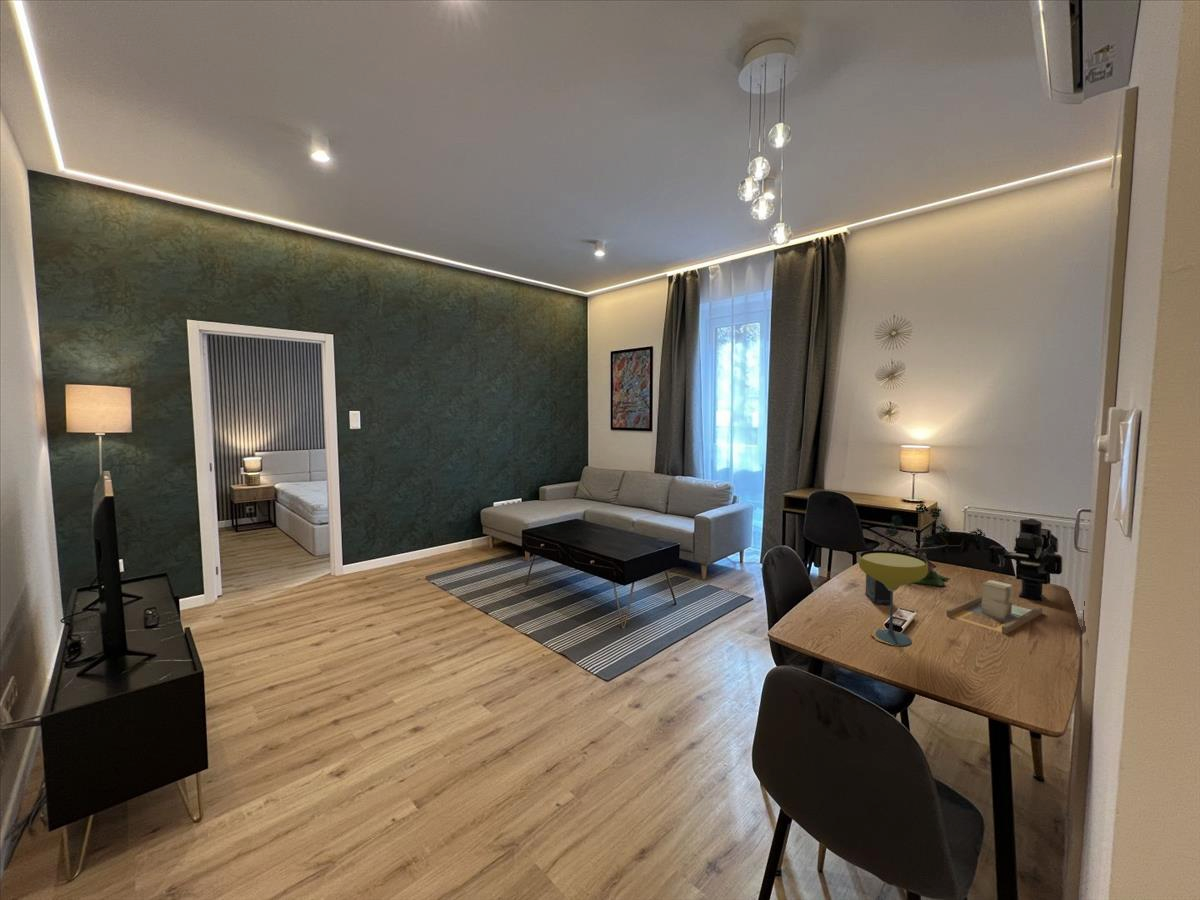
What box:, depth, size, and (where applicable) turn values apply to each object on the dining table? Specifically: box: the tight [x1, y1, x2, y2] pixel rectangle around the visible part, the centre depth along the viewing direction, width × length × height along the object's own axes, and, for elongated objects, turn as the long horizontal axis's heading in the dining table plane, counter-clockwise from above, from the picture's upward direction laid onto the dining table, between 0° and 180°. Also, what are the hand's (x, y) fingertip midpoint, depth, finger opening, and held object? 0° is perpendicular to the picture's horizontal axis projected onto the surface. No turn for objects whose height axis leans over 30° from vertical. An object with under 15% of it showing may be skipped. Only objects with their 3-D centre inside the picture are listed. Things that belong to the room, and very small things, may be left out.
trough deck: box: [946, 593, 1043, 635], centre depth 161 cm, size 27×16×4 cm, turn 121°
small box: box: [864, 573, 891, 606], centre depth 180 cm, size 11×6×10 cm, turn 168°
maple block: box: [981, 579, 1014, 619], centre depth 162 cm, size 6×6×10 cm
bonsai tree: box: [881, 503, 987, 588], centre depth 194 cm, size 35×24×32 cm
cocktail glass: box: [858, 549, 928, 647], centre depth 149 cm, size 18×18×25 cm
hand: (1019, 568), depth 161 cm, fingers open, 9 cm apart
